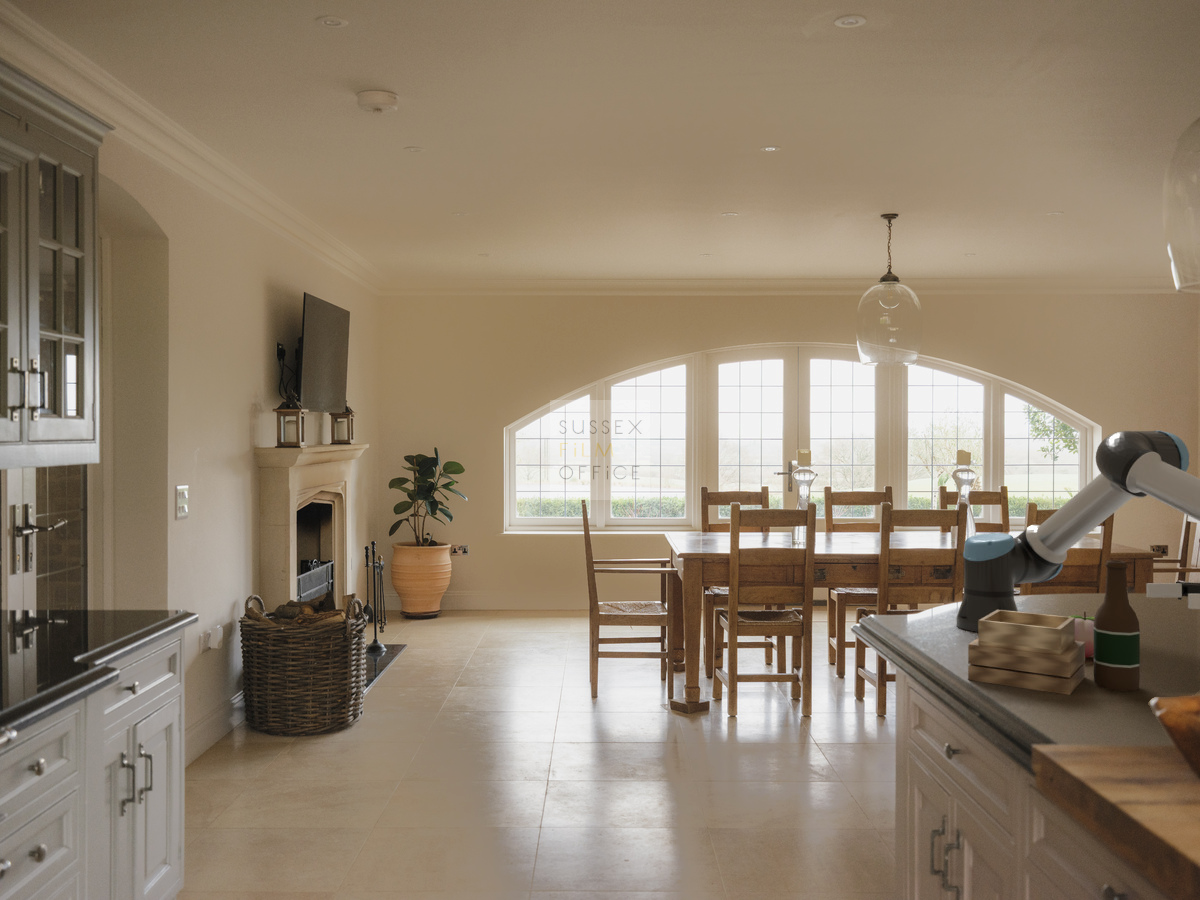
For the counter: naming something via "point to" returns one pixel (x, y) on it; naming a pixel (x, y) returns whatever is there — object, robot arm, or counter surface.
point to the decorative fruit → (1085, 632)
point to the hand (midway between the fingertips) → (1167, 595)
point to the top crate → (1027, 631)
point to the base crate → (1028, 667)
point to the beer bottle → (1116, 635)
